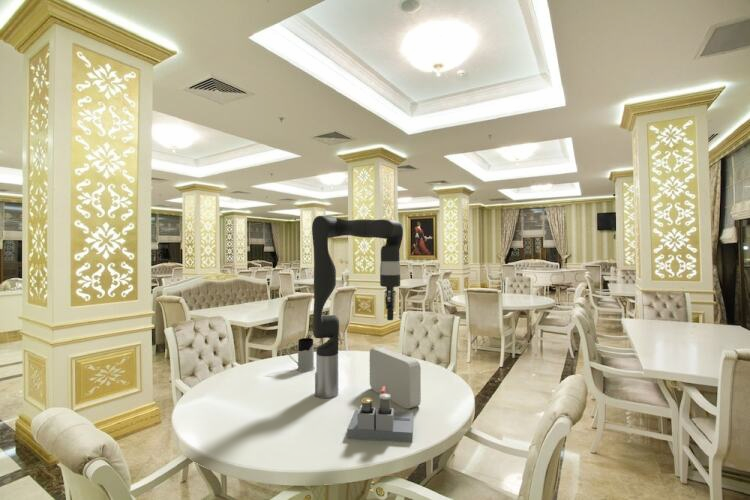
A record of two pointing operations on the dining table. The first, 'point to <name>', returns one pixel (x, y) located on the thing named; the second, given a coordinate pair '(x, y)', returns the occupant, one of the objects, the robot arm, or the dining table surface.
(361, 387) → the dining table surface
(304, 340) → the grey mug
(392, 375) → the rounded white slab
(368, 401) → the brass button
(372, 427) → the console
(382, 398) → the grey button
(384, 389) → the red lever
